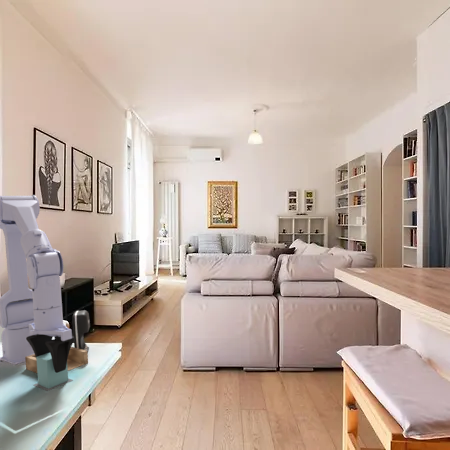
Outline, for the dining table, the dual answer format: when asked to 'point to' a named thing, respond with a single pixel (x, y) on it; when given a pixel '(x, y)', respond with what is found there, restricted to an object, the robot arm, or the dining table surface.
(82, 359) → the crate
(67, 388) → the dining table surface
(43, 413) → the dining table surface
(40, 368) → the block
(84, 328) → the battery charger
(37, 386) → the coaster
